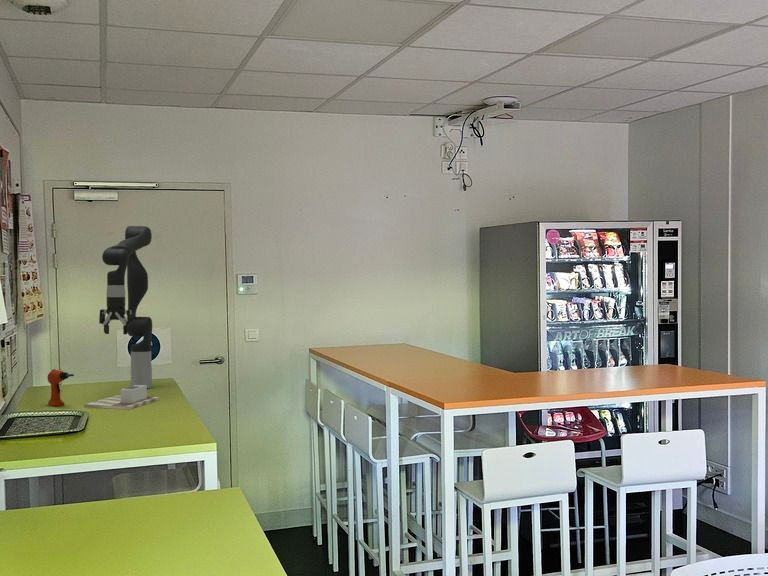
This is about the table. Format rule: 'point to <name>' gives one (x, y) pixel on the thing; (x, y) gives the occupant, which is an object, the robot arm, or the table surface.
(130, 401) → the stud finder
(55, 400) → the toy drill
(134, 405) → the subfloor panel
